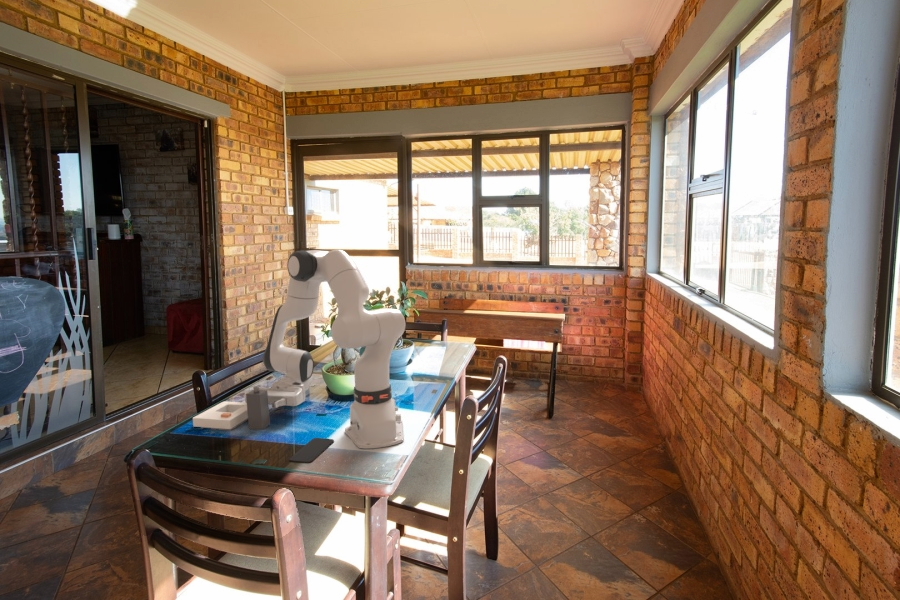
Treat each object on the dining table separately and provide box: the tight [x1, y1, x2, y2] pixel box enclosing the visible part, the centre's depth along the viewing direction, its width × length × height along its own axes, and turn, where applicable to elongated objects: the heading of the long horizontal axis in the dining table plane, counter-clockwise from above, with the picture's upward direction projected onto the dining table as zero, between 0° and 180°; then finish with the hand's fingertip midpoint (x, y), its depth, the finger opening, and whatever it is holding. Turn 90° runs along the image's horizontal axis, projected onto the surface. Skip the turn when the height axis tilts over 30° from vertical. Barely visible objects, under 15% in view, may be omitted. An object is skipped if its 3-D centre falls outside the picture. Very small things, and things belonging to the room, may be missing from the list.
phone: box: [288, 437, 335, 464], centre depth 148 cm, size 7×1×15 cm
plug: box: [246, 385, 271, 431], centre depth 166 cm, size 4×5×14 cm
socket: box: [192, 400, 248, 432], centre depth 173 cm, size 16×14×4 cm
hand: (261, 404), depth 167 cm, fingers open, 8 cm apart
